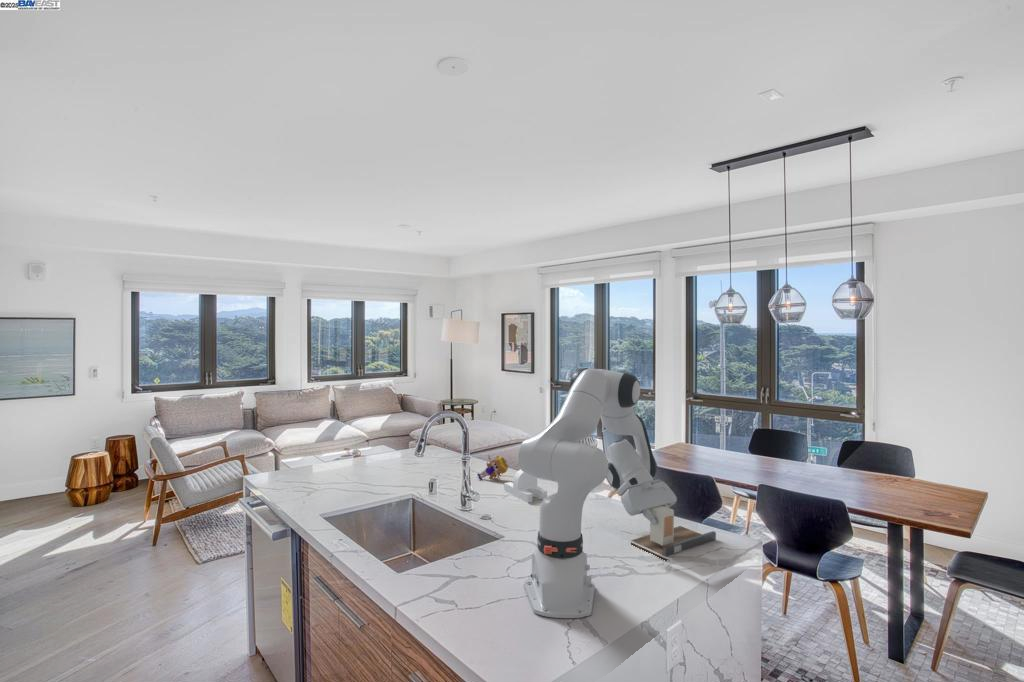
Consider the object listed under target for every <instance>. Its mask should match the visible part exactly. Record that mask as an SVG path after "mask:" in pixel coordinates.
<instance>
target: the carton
mask: <svg viewBox="0 0 1024 682" xmlns="http://www.w3.org/2000/svg"><path fill="white" fill-rule="evenodd" d="M650 514H651V515H652V516H654V517H656V518H657V520H658V521H659V523H658V524H656V525H652V524H651V522H650V521H649V522H650V524H649V528H650V529H649V535H650V540H651V541H653V542H656V543H658V544H660V545H666V544H669V543H672V542H674V528H675V527H674V526H675V521H674V520H675V509H672V508H670V509H669V508H667V507H664V506H658V507H654V508H650Z"/></svg>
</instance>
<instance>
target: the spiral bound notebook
mask: <svg viewBox="0 0 1024 682" xmlns="http://www.w3.org/2000/svg"><path fill="white" fill-rule="evenodd" d="M702 534H703V533H699V532H697V531H694V530H693V529H689V528H687V527H684V526H682V525H679V526H675V527H674V542H672V543H669V544H666V545H660V544H658V543H656V542H653V541H651V540H650V534H648V535H644V536H641V537H637V538H634V539H631V542H630V545H631V546H632V545H633V546H632V547H634V546H635V547H634V548H636V547H637V548H636V549H638V548H639V550H641V549H642V550H641V551H643V550H644V551H643V552H645V551H646V552H645V553H647V552H648V554H649V553H651V554H653V555H655V556H657V557H659V558H658V559H660V558H661V559H660V560H662V559H663V560H662V561H664V560H665V561H664V562H668V561H667V560H669V559H668V558H666V557H665V556H664V555H663V547H665V546H668V545H671V544H674V543H677V542H680V541H684V540H687V539H690V538H693V537H696V536H699V535H702ZM633 542H634V543H633ZM644 547H645V548H644ZM651 554H650V555H651ZM659 554H660V555H659ZM653 555H652V556H653ZM655 556H654V557H655ZM663 556H664V557H663ZM657 557H656V558H657Z"/></svg>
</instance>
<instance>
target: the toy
mask: <svg viewBox="0 0 1024 682" xmlns="http://www.w3.org/2000/svg"><path fill="white" fill-rule="evenodd" d="M487 459H488V460H489V462H488V461H487V462H486V468H485V469H484V470H483V471H481V472H479V473H477V474H476V475H477V476H478V479H479V480H482V479H483V478H486V477H487V476H489V477H488V479H493V478H494V479H498V481H499V482H502V480H501V478H500V477H502V475H504V474H506V473H507V472H508V469H509V465H508V463H507V461H508V460H506V459H505V458H504V457H502V456H499V455H497V456H495V458H494V459H493V460H492V458H491V456H490V455H489V454H487Z"/></svg>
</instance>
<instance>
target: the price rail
mask: <svg viewBox="0 0 1024 682" xmlns="http://www.w3.org/2000/svg"><path fill="white" fill-rule="evenodd" d="M701 534H702V535H699V536H696V537H693V538H690V539H687V540H684V541H680V542H677V543H674V544H671V545H668V546H665V547H663V555H664V557H668V556H672V555H676V554H678V553H681V552H683V551H686V550H690V549H693V548H696V547H699V546H701V545H705V544H708V543H711V542H714V541H716V540H717V539H716V538H717V532H716V531H714V530H712V531H710V532H709V531H708V532H705V533H701ZM663 555H662V556H663Z"/></svg>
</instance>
